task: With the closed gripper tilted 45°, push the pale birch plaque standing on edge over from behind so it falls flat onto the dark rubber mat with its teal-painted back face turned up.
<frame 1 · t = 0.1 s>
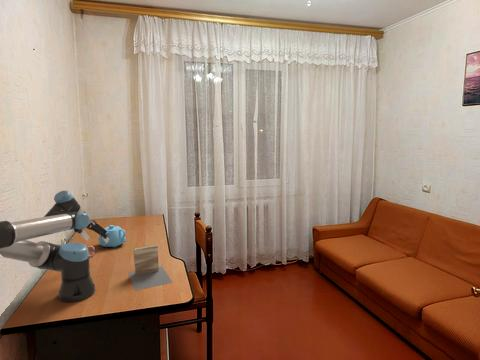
hand: (97, 240, 176), 15 cm above the table, tool tilted 35°, fingers open, 13 cm apart
plaque: (147, 272, 168), point 1 cm above the table, touching mat
decorative pot: (112, 245, 212), on the table
decorative key: (77, 258, 190), on the table
mat: (149, 278, 162), on the table
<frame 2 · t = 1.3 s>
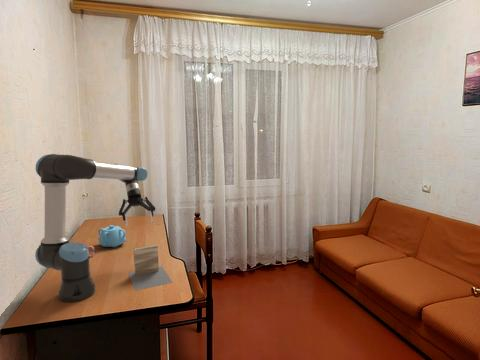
hand: (139, 223, 176), 24 cm above the table, tool tilted 45°, fingers open, 13 cm apart
nothing on the table moved.
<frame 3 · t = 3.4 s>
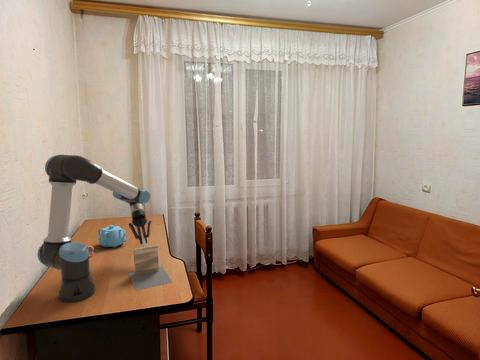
hand: (144, 248, 175), 11 cm above the table, tool tilted 45°, fingers closed
nothing on the table moved.
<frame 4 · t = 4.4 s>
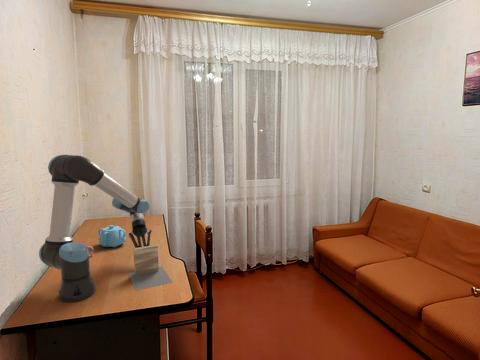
hand: (144, 258, 173), 6 cm above the table, tool tilted 45°, fingers closed
nothing on the table moved.
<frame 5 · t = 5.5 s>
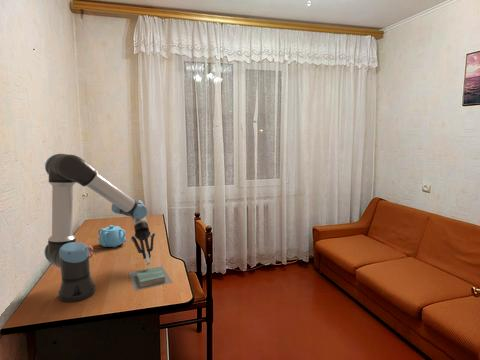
hand: (148, 263, 167), 6 cm above the table, tool tilted 45°, fingers closed
plaque: (147, 271, 167), point 2 cm above the table, tilted 90°, touching mat
everything else where it was.
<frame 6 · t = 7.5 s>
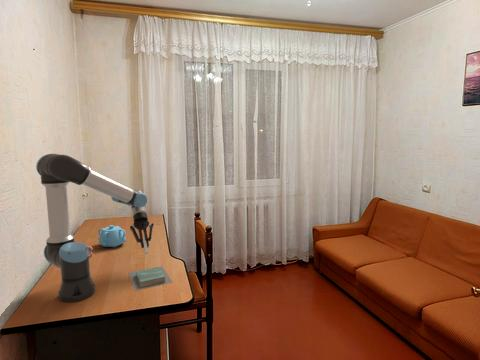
hand: (146, 252, 166), 12 cm above the table, tool tilted 45°, fingers closed
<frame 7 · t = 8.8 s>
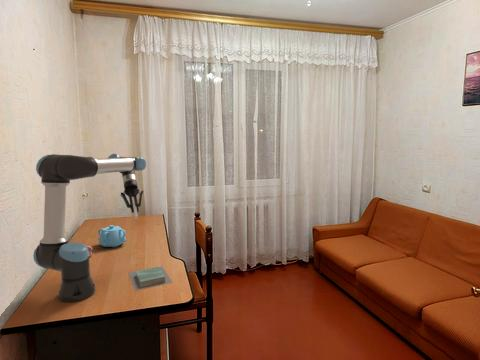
hand: (136, 216, 176), 28 cm above the table, tool tilted 45°, fingers closed
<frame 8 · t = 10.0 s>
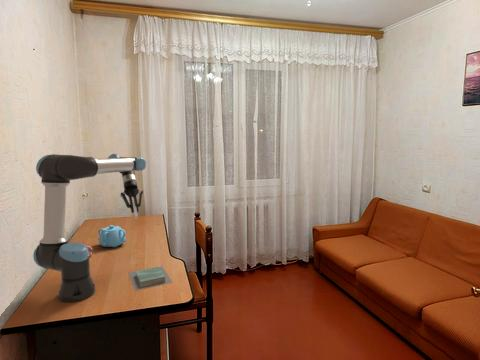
hand: (136, 216, 176), 28 cm above the table, tool tilted 45°, fingers closed
at the end: plaque tilted 90°; plaque inside the target area on the mat (0.0 cm from its centre), point 1.8 cm above the mat's base; plaque touching mat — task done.
